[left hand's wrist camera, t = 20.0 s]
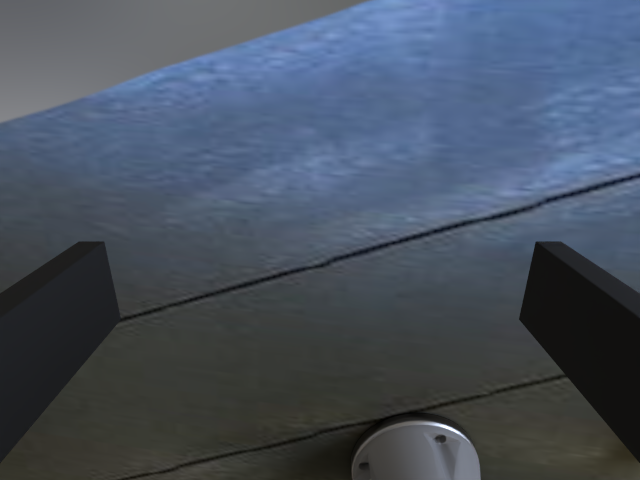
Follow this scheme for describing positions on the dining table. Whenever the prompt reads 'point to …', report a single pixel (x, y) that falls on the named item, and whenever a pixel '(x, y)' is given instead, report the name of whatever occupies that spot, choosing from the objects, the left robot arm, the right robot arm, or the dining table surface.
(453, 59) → the dining table surface
